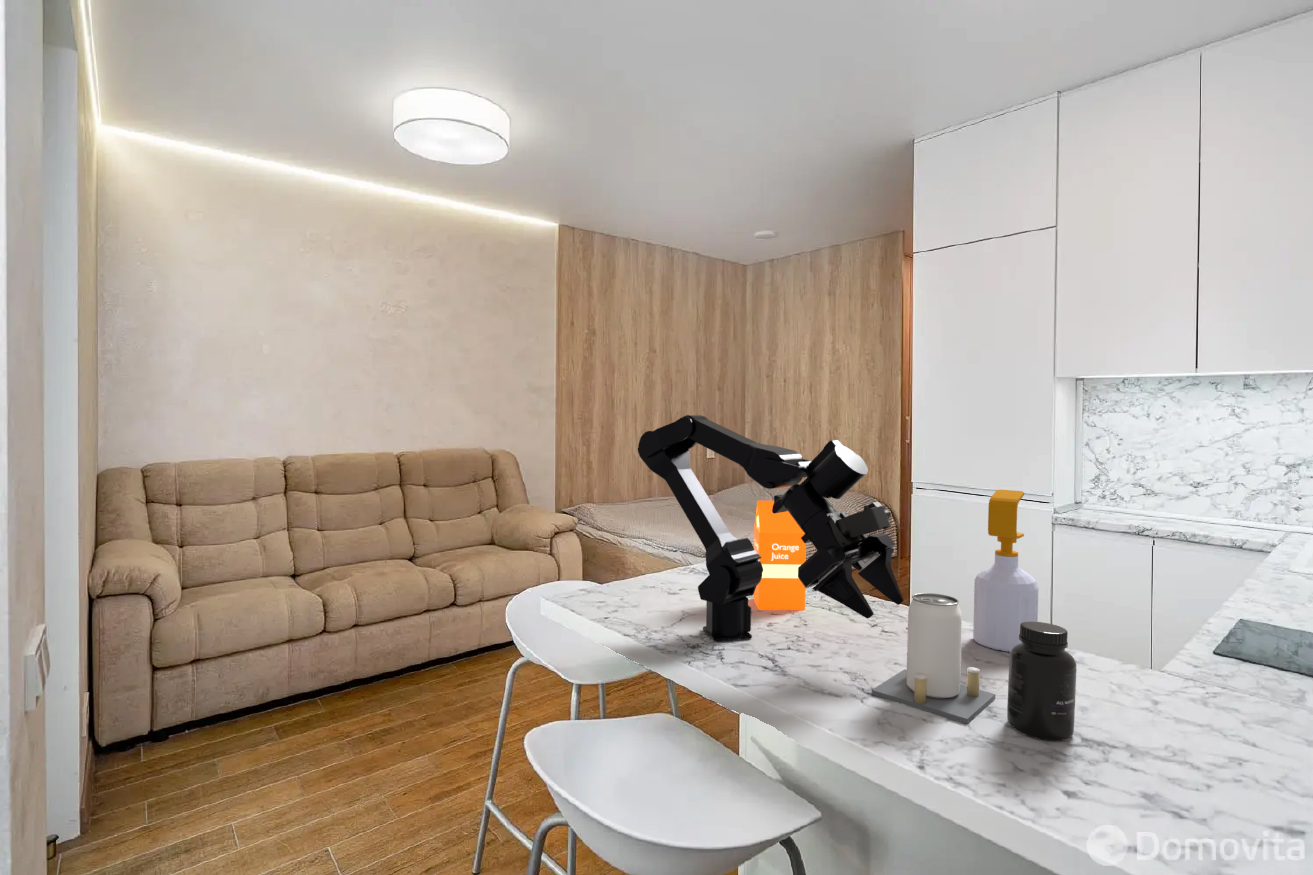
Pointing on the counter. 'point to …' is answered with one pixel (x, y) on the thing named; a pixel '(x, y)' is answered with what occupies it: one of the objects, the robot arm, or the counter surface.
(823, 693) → the counter surface
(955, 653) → the can
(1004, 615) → the soap bottle
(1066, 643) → the supplement bottle
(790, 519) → the orange juice
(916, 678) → the peg board
